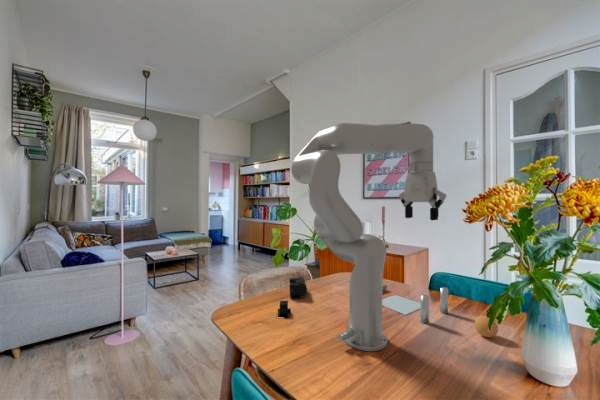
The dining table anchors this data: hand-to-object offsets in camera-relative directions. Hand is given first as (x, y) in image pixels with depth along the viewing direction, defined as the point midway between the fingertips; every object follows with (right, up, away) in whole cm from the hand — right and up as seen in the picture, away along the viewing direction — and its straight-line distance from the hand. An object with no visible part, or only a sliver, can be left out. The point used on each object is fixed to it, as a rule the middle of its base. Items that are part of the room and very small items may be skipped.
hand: (420, 218), depth 93 cm
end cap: (-42, -35, +25) cm, 60 cm away
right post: (+12, -35, +7) cm, 38 cm away
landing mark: (-2, -35, +15) cm, 38 cm away
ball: (+16, -32, -10) cm, 37 cm away
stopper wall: (-10, -35, +26) cm, 45 cm away
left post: (+1, -35, 0) cm, 35 cm away
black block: (-47, -36, +7) cm, 60 cm away
